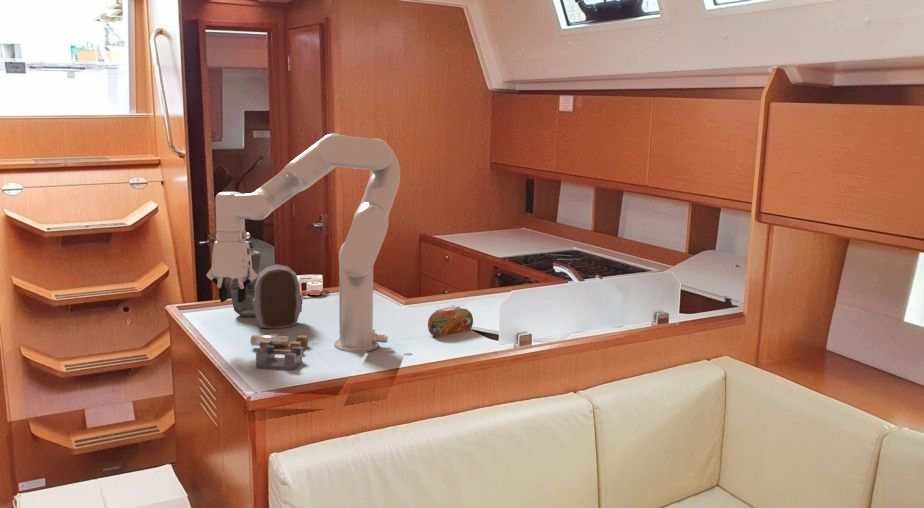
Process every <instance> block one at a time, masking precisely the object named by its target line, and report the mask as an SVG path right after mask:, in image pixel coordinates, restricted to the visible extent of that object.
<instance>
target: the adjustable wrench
mask: <svg viewBox="0 0 924 508" xmlns="http://www.w3.org/2000/svg"><path fill="white" fill-rule="evenodd" d="M451 305H452V306H449V307H448V306H447V307H445V308H440V309H437V310H436V309H435V311H434V312H436V311H441V310H448V309H455V308H458V307H459V308H461V306H459V305H453V304H451Z"/></svg>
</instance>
